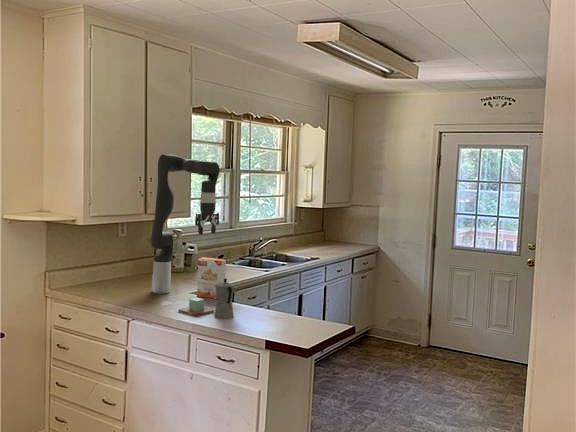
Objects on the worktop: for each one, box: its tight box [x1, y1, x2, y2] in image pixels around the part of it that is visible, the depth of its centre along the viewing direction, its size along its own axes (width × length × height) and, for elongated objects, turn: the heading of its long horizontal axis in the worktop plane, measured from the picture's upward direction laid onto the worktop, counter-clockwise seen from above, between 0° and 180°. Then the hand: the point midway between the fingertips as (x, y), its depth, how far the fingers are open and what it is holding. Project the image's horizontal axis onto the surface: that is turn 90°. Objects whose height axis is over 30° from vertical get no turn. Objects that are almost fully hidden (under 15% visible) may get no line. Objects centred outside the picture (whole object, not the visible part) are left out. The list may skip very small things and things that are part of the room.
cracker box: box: [196, 256, 227, 300], centre depth 306 cm, size 14×6×21 cm, turn 73°
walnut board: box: [178, 306, 215, 318], centre depth 274 cm, size 12×12×1 cm
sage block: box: [188, 297, 205, 311], centre depth 274 cm, size 5×5×5 cm
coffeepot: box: [214, 277, 236, 319], centre depth 267 cm, size 15×9×18 cm, turn 24°
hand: (206, 233), depth 286 cm, fingers open, 8 cm apart
